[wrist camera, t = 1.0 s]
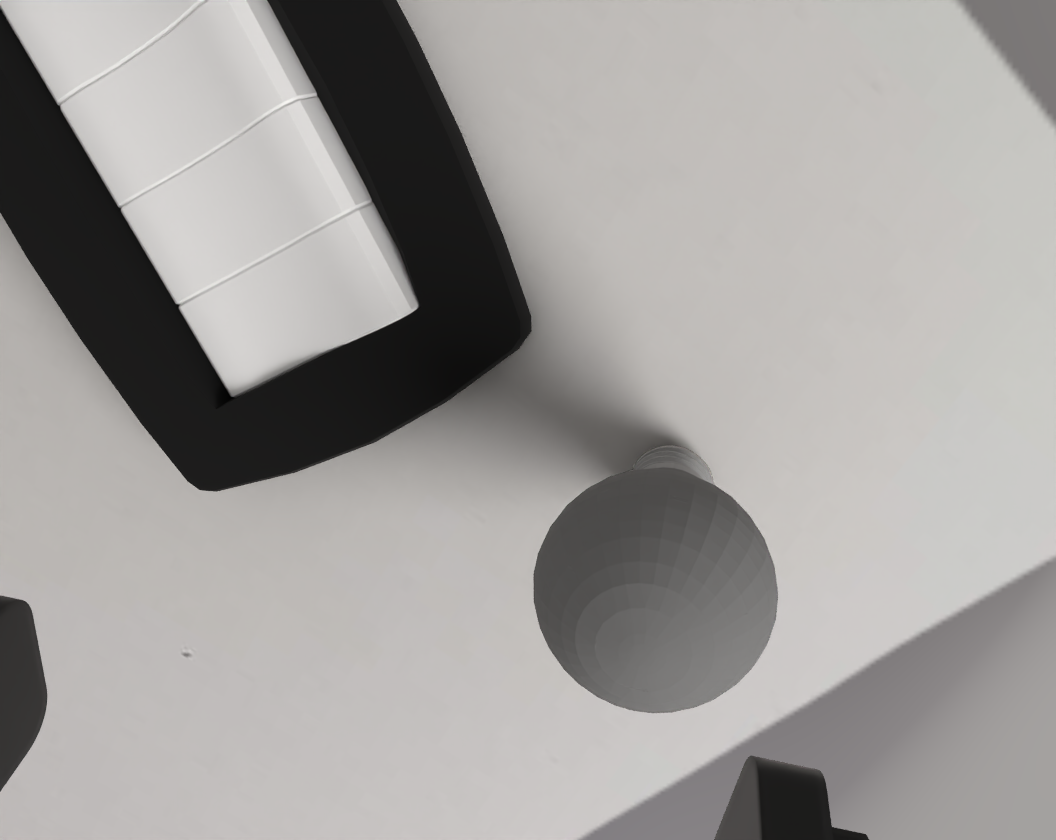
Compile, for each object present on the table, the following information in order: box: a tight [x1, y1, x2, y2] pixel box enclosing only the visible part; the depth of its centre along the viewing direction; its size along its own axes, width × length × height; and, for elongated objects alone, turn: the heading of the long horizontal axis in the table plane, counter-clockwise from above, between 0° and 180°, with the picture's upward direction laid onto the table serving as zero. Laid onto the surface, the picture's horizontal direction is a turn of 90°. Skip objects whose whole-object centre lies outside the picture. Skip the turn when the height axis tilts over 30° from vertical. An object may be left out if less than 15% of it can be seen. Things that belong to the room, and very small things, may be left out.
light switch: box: [0, 0, 531, 491], centre depth 29 cm, size 20×3×14 cm
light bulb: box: [534, 445, 778, 713], centre depth 27 cm, size 6×6×10 cm
